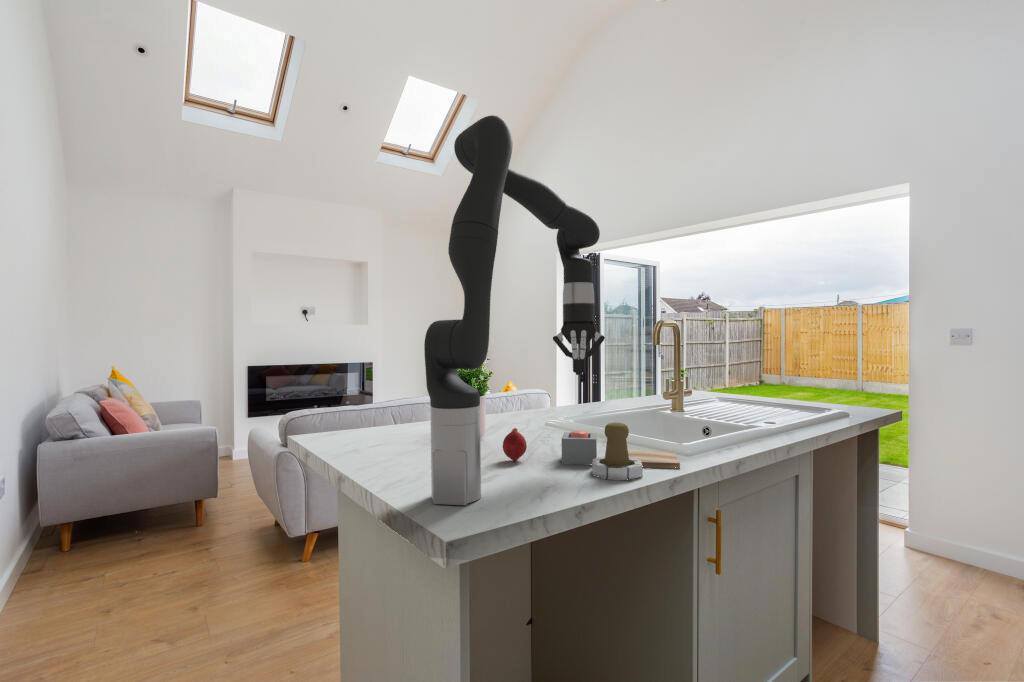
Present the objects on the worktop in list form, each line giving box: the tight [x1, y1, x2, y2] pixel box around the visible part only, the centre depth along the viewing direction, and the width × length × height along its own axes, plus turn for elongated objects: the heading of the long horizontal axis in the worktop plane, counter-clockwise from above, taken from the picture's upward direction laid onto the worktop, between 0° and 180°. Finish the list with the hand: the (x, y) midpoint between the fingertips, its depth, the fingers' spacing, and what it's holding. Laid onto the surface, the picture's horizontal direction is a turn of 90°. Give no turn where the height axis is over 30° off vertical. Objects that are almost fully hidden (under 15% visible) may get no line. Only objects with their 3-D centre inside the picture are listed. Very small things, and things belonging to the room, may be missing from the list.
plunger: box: [570, 430, 589, 438], centre depth 121 cm, size 4×4×6 cm
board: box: [628, 449, 681, 469], centre depth 120 cm, size 12×12×1 cm
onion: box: [502, 427, 528, 462], centre depth 122 cm, size 6×6×8 cm
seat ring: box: [591, 455, 644, 481], centre depth 110 cm, size 10×10×2 cm
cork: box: [604, 421, 630, 467], centre depth 110 cm, size 6×6×11 cm
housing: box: [561, 431, 598, 465], centre depth 121 cm, size 8×8×6 cm
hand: (579, 374), depth 121 cm, fingers closed
